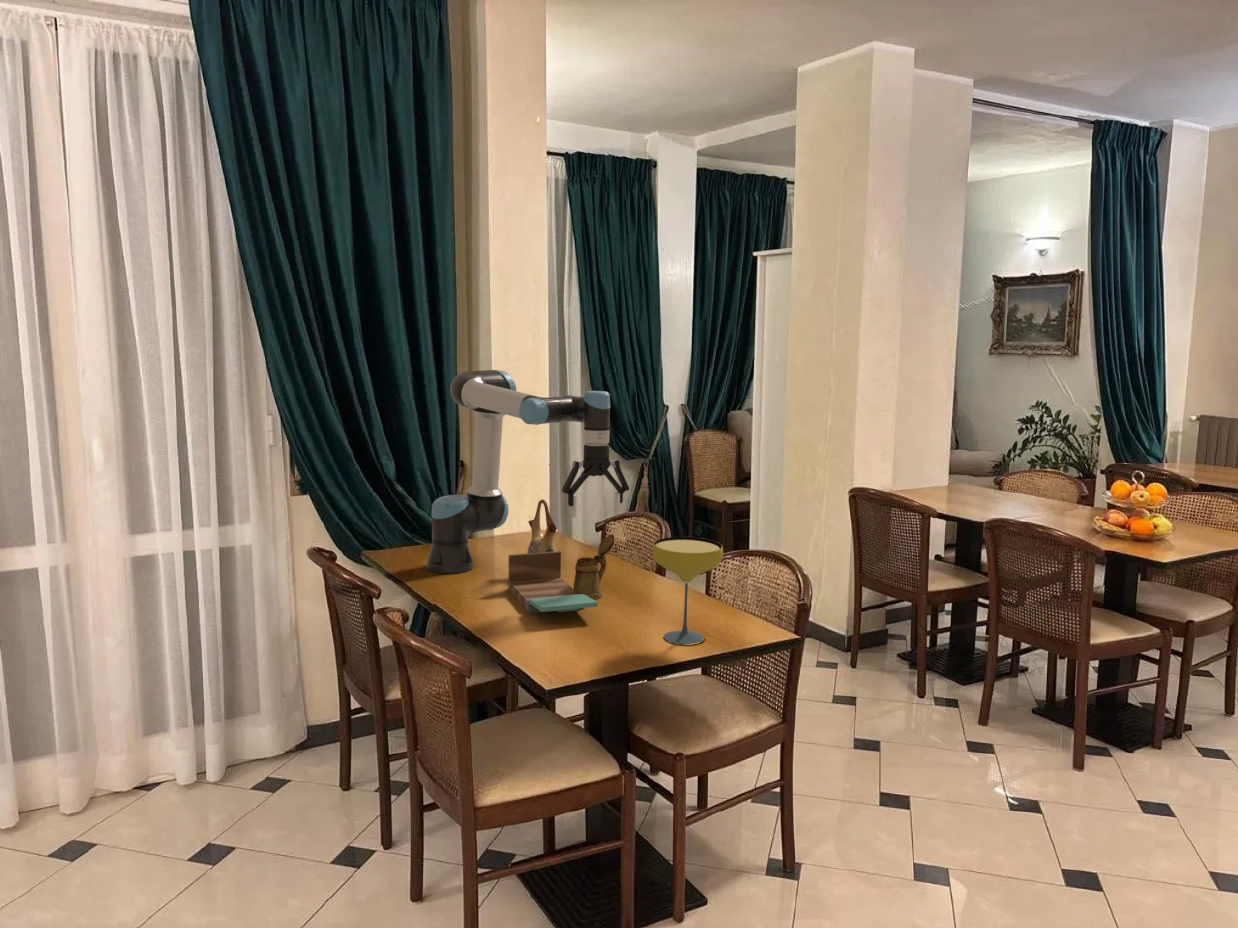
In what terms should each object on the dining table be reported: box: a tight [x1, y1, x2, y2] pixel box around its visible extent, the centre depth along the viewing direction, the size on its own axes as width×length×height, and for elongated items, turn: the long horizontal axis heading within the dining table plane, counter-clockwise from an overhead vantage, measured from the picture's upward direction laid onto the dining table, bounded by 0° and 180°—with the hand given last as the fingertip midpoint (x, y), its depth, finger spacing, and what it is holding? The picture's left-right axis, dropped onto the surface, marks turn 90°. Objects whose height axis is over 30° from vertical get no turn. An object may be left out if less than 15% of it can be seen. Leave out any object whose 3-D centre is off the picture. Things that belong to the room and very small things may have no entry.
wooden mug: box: [572, 533, 616, 601], centre depth 270 cm, size 9×14×18 cm, turn 121°
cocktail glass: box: [651, 536, 724, 644], centre depth 233 cm, size 18×18×25 cm
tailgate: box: [529, 594, 599, 613], centre depth 249 cm, size 2×16×12 cm
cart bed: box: [508, 550, 585, 615], centre depth 265 cm, size 24×16×11 cm
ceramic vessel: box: [526, 499, 558, 553], centre depth 288 cm, size 16×9×25 cm, turn 31°
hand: (595, 515), depth 268 cm, fingers open, 13 cm apart
